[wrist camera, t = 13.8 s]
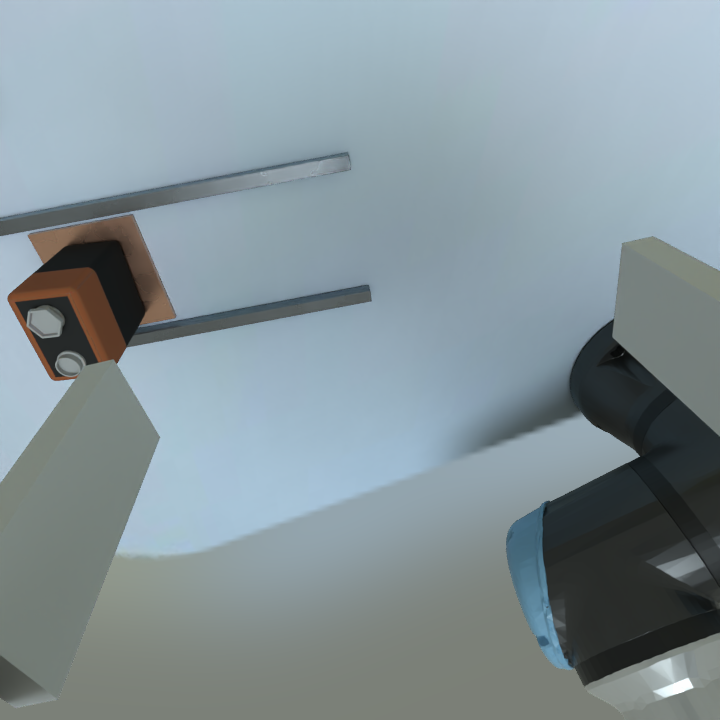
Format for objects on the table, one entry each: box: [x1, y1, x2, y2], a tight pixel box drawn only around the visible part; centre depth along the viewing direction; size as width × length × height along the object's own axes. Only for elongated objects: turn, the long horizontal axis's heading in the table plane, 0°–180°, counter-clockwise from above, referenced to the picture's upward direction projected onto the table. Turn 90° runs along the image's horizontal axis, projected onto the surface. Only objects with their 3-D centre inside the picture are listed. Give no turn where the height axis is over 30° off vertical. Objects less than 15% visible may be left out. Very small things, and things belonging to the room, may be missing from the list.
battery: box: [8, 241, 145, 381], centre depth 34 cm, size 4×7×10 cm, turn 4°
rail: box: [0, 152, 372, 347], centre depth 38 cm, size 12×28×1 cm, turn 99°
